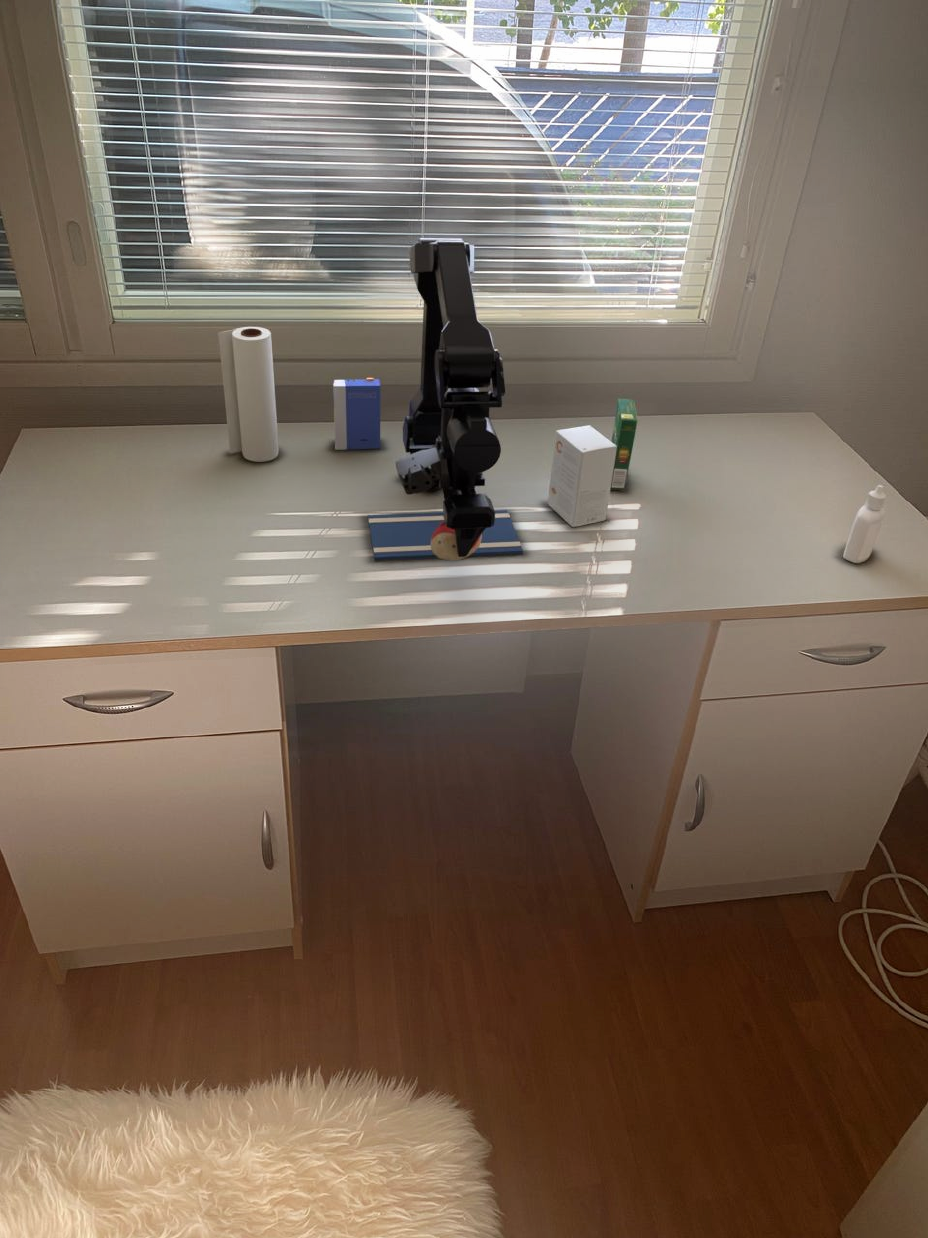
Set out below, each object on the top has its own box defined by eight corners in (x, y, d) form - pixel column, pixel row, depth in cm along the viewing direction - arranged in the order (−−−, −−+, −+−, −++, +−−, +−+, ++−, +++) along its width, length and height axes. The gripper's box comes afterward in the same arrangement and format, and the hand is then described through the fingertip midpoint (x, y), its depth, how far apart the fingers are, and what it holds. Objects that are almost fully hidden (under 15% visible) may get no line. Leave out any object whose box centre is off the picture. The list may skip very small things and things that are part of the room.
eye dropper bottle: (880, 560, 148) (906, 491, 141) (850, 565, 146) (874, 495, 139) (862, 545, 151) (886, 477, 144) (832, 550, 150) (855, 481, 143)
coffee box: (626, 492, 161) (638, 419, 154) (608, 491, 161) (620, 417, 154) (623, 469, 168) (635, 398, 160) (606, 468, 168) (617, 397, 160)
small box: (606, 521, 153) (618, 445, 146) (571, 528, 151) (582, 452, 143) (579, 497, 159) (590, 423, 151) (546, 504, 157) (554, 429, 149)
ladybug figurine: (421, 558, 132) (422, 535, 130) (444, 523, 140) (445, 501, 138) (468, 568, 131) (470, 546, 129) (489, 532, 139) (490, 511, 137)
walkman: (378, 441, 172) (378, 376, 164) (380, 448, 169) (380, 383, 162) (334, 442, 170) (332, 377, 163) (334, 449, 168) (333, 384, 161)
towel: (374, 560, 141) (374, 556, 140) (367, 518, 150) (367, 514, 150) (522, 554, 144) (523, 550, 144) (506, 513, 154) (507, 509, 153)
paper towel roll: (286, 453, 166) (278, 330, 153) (262, 466, 162) (252, 341, 149) (254, 441, 169) (244, 320, 156) (230, 454, 165) (217, 330, 152)
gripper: (393, 406, 132) (392, 506, 141) (409, 472, 117) (407, 579, 126) (473, 404, 133) (467, 503, 143) (499, 469, 119) (491, 575, 128)
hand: (456, 538), depth 135 cm, fingers closed on ladybug figurine, 9 cm apart
